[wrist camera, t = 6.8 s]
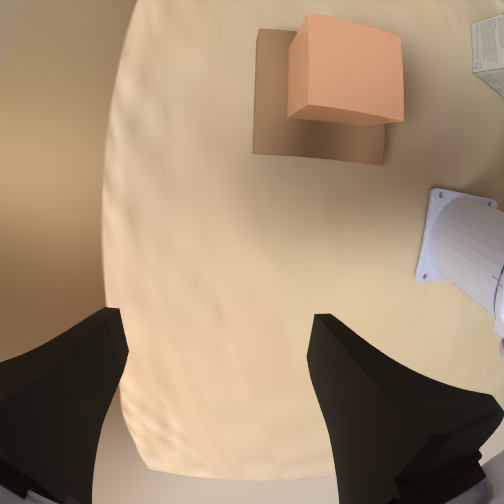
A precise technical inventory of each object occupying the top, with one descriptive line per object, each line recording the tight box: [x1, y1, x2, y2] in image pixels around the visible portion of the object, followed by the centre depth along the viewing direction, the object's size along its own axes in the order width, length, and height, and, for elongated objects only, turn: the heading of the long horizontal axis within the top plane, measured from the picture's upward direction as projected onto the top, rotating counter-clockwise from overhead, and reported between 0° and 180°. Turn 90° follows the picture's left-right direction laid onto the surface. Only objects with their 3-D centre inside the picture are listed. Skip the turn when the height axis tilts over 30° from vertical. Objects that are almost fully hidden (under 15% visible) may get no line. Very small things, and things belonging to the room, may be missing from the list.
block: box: [287, 13, 404, 127], centre depth 12 cm, size 4×4×5 cm
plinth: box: [253, 29, 385, 166], centre depth 15 cm, size 8×8×2 cm
